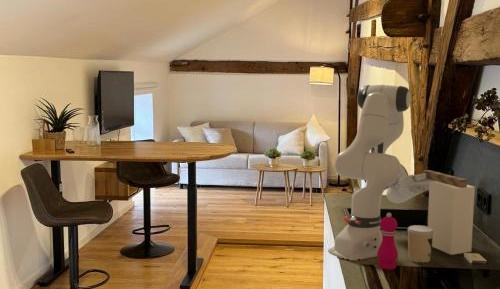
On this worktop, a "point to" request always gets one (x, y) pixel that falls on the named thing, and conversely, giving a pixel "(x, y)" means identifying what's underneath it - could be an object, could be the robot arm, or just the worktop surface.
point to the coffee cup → (420, 243)
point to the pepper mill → (387, 243)
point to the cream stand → (451, 217)
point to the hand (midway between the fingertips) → (431, 174)
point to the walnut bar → (446, 178)
